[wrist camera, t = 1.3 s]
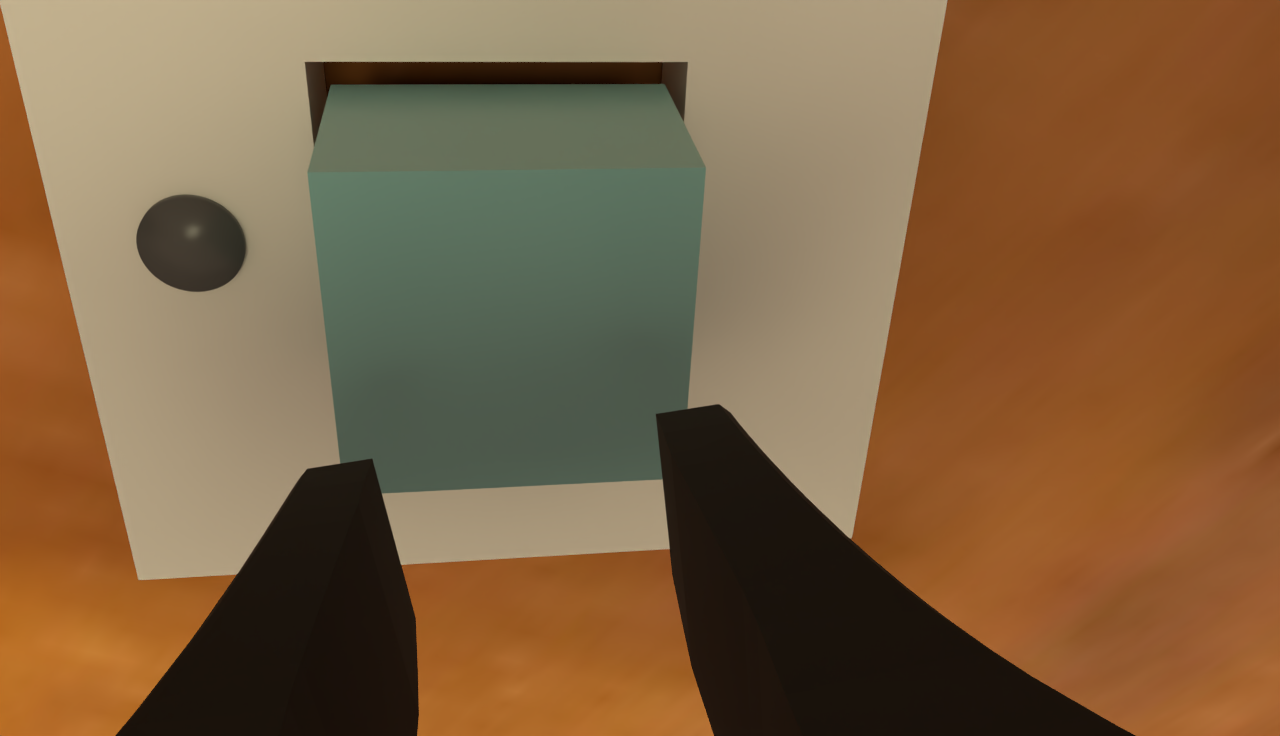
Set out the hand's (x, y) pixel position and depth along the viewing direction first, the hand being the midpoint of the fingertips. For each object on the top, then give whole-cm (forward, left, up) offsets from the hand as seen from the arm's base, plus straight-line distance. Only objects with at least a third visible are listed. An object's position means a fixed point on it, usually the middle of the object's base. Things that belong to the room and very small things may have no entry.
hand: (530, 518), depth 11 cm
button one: (0, 0, -6) cm, 6 cm away
